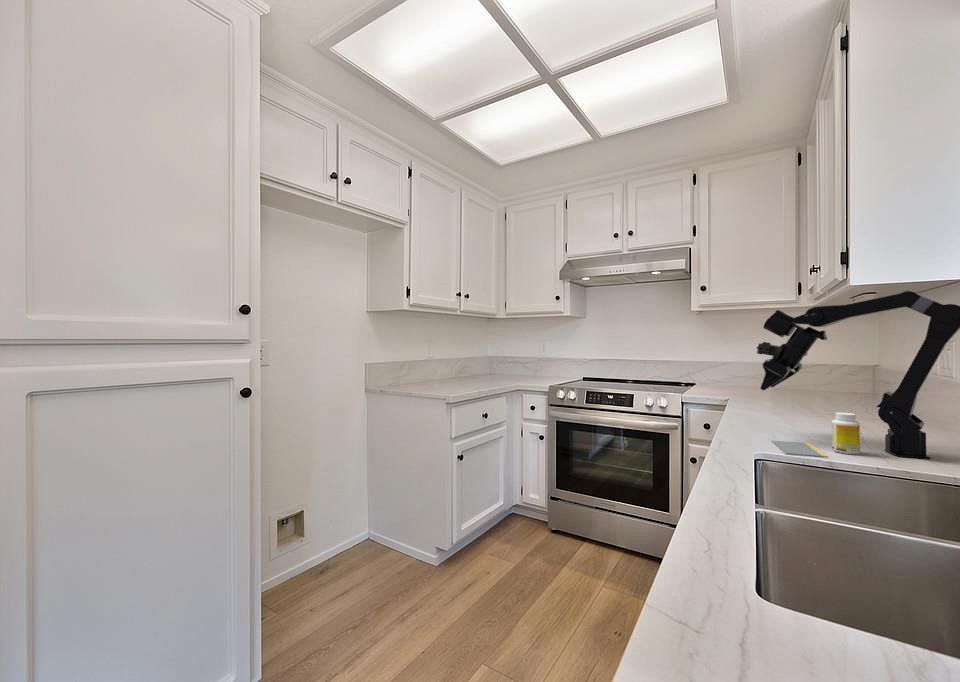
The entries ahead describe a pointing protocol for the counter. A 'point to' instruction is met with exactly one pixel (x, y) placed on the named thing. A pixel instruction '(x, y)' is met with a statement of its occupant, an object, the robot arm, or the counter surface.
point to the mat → (799, 449)
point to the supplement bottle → (845, 434)
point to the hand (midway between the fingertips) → (766, 388)
